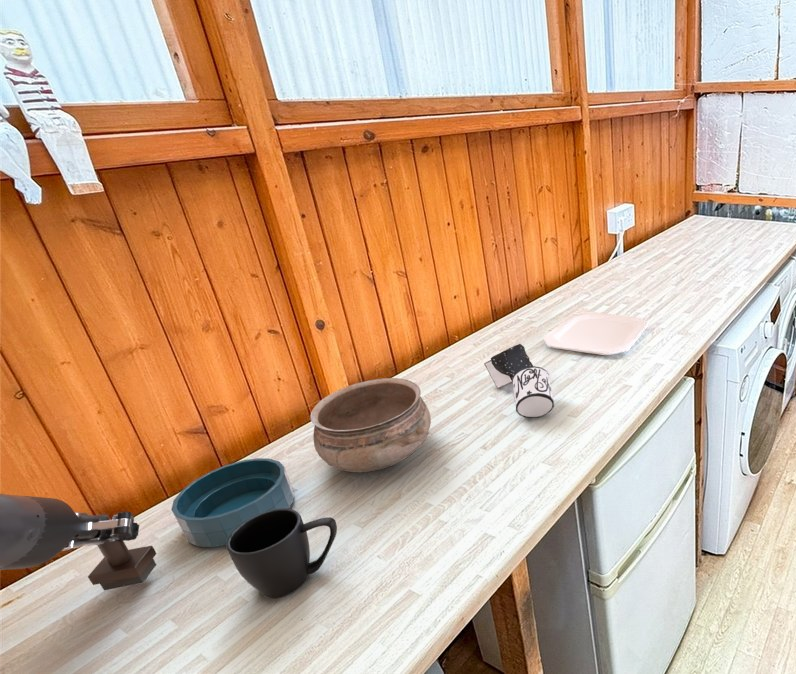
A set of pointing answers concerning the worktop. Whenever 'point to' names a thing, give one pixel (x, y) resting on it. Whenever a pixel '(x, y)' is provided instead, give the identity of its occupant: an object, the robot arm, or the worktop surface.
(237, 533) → the mug
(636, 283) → the worktop surface
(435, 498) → the worktop surface
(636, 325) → the plate
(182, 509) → the bowl
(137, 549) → the brown stamp
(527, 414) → the black and white cylinder
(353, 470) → the cooking pot
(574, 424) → the worktop surface
